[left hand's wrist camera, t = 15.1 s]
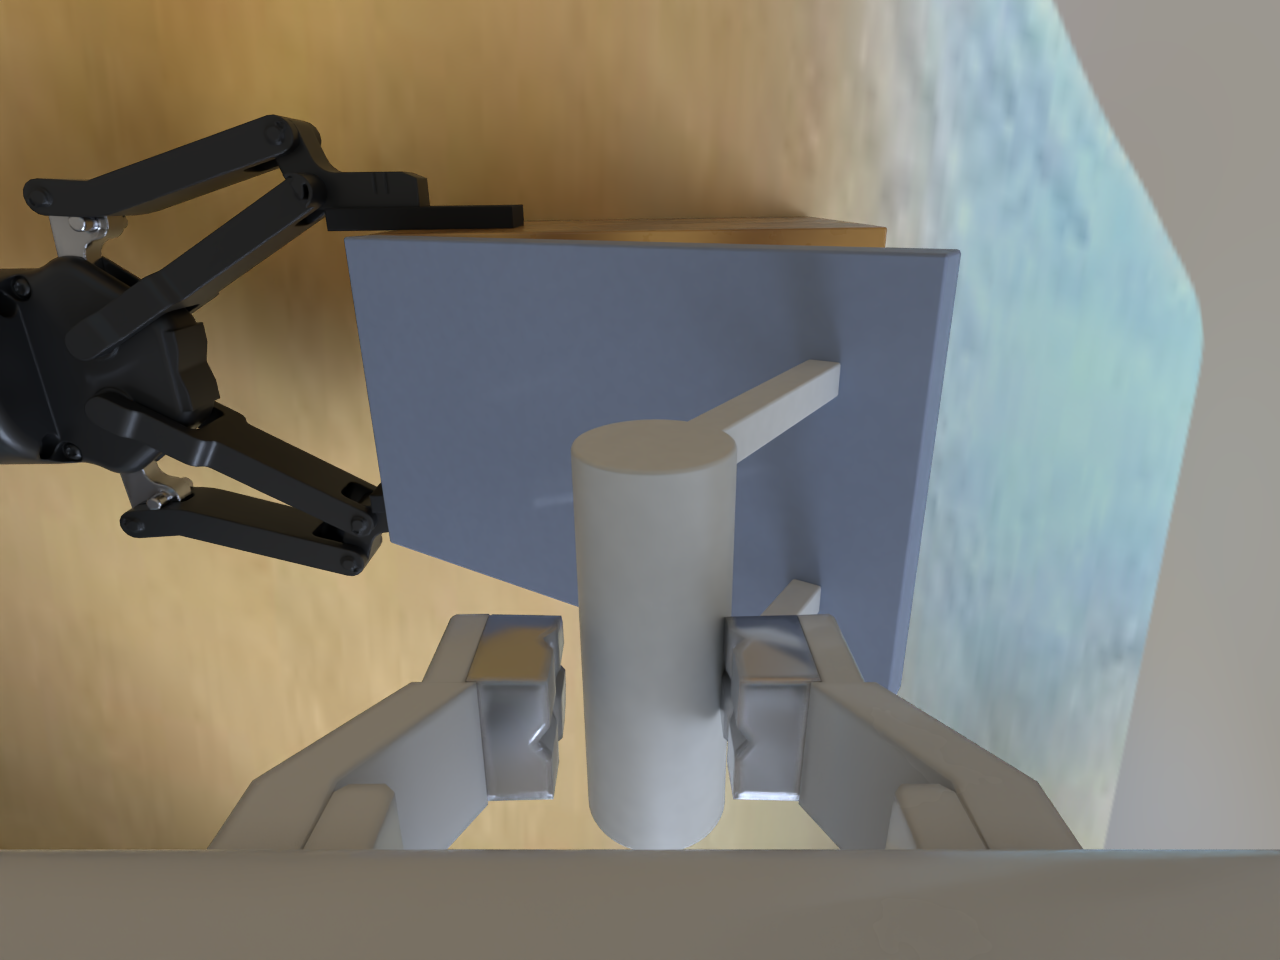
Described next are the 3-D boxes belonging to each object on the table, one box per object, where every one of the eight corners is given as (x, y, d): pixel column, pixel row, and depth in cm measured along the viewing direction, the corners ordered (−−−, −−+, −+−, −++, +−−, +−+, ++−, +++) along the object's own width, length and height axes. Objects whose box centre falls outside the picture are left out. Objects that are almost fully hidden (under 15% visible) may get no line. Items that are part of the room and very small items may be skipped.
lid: (962, 249, 14) (778, 312, 7) (901, 687, 18) (741, 1011, 11) (375, 234, 23) (34, 256, 16) (416, 530, 26) (154, 653, 19)
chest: (812, 216, 33) (887, 227, 23) (797, 432, 36) (857, 523, 26) (450, 222, 33) (366, 234, 23) (472, 436, 36) (408, 528, 26)
